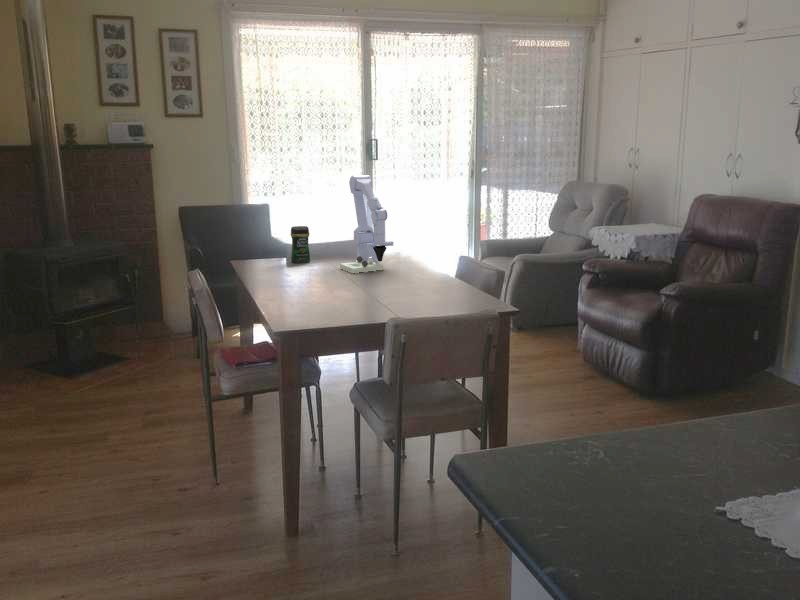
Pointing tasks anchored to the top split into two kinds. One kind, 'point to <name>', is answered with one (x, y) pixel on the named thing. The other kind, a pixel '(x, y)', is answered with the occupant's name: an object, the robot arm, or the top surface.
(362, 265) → the black rubber ball
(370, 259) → the steel ball
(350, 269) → the sage board
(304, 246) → the coffee jar
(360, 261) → the black rubber ball
